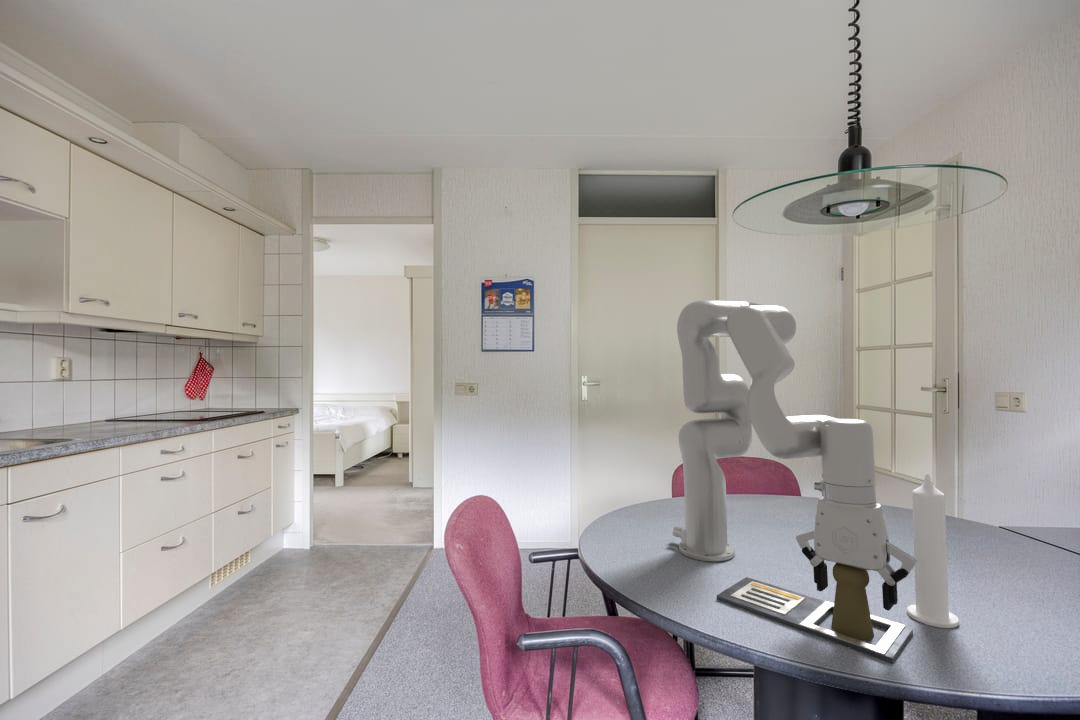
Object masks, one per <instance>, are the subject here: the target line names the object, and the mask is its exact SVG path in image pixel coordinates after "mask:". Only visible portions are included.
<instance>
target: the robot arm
mask: <svg viewBox="0 0 1080 720" xmlns="http://www.w3.org/2000/svg"><path fill="white" fill-rule="evenodd" d="M796 331H797V323H796V319H795V317H794V315H793V314H792V312H790V311H789V310H788V309H787V308H785V307H783V306H779V305H770V304H765V303H760V302H759V303H757V302H751V301H739V300H738V301H737V300H719V299H718V300H717V299H716V300H715V299H705V300H704V299H703V300H696V301H693V302H690V303H688V304H686V306H685V307H683V309H682V310H681V311H680V314H679V315H678V320H677V323H676V334H677V339H678V343H679V346H680V347H679V348H680V351H681V357H682V386H683V388H682V389H683V391H682V393H683V401H684V405H685V407H686V410H688V411H689V412H690V413H693V414H699V415H700V414H720V418H702V419H693V420H690V421H688V422H686V423H685V424H683V425H682V426H681V428H680V430H679V431H678V445H679V449H680V453H681V459H682V461H681V462H682V467H683V469H682V470H683V487H684V490H683V491H684V527H682V526H679V525H675V526H674V527H673V531H672V536H673V537H675V538H680V540H681V542H680V543H679V544H678V549H679V552H680V553H681V554H682V555H683V556H685V557H688V558H691V559H694V560H698V561H703V562H704V561H705V562H723V561H729V560H731V559H732V558H734V556H735V555H736V553H735V548H734V547H733V546H732V545H731V544H729V543H728V514H727V510H728V509H727V485H726V484H727V483H726V476H725V473H724V471H723V469H722V468H721V466H720V465H719V463H718V461H717V460H718V459H725V458H726V459H727V458H736V457H737V458H738V457H741V456H743V455H746V454H747V453H748V452H749V450H750V448H751V445H752V441H753V440H752V437H753V430H752V429H754V431H755V433H756V436H757V437H758V439H759V441H760V443H761V445H762V447H764V448H765V450H766V451H767V452H768V454H771V455H772V456H774V457H775V458H777V459H781V460H782V459H783V460H790V459H791V460H792V459H800V458H801V459H802V458H814V457H815V458H816V457H821V477H822V480H821V481H820V482H819V481H817V482H814V485H813V488H814V490H815V491H819V492H821V496H822V497H819V498H818V499H817V503H816V509H815V516H814V518H815V519H814V529H813V530H809V531H806V532H803V533H799V534H798V535H796V537H795V540H796V542H797V543H798V545H799V547H800V548H801V552H802V554H803V555H804V556H805V557H806V559H808V561H809V564H810V565H811V566H812V567H813V582H814V584H816V590H817V592H823V591H824V590H826V589H827V588H828V587H829V580H828V578H829V577H828V575H829V574H828V565H827V563H826V562H825V561H827V562H831V563H835V564H836V563H839V564H843V565H847V566H852V567H856V568H860V569H865V570H867V571H870V572H877V573H878V574H879V576H880V577H881V578H882V579H883V581H884V582H883V583H882V585H881V589H882V591H881V592H882V609H884V610H885V611H890V610H891V609H892V608H893V607H894V606H895V605H897V604H898V600H899V599H898V584H897V583H900V581H902V580H904V579H905V578H907V577H908V575H909V574H910V573H911V571H912V570H913V568H915V564H916V562H917V560H916V559H915V558H914V556H912V555H911V554H909V553H907V552H906V551H904V550H902V549H901V548H899V547H898V546H896V545H895V544H893V543H891V542H890V539H889V532H888V527H887V523H886V518H885V514H884V511H883V507H882V505H881V504H880V503H877V488H876V487H877V486H876V472H875V471H876V469H875V466H876V465H875V453H874V433H873V432H874V431H873V427H872V425H871V423H870V422H868V421H866V420H863V419H857V418H836V417H833V416H829V415H824V414H806V415H805V414H803V415H800V414H799V415H789V416H788V415H785V414H784V411H783V410H782V408H781V406H780V405H779V402H778V400H777V398H776V394H775V385H776V384H778V383H779V382H781V381H782V380H785V378H787V377H788V376H789V375H790V374H791V373H792V372H793V371H794V368H795V365H796V364H795V363H796V362H795V359H794V358H793V356H792V354H791V353H790V351H789V350H788V347H787V346H786V344H787V343H790V342H791V341H792V340H793V338H794V336H795V334H796ZM713 337H714V338H715V337H717V338H730V339H731V340H730V341H732V343H733V345H734V347H735V350H736V351H737V354H738V355H739V357H740V359H741V361H742V362H743V365H744V367H745V369H746V371H747V373H748V374H749V376H750V379H751V381H750V385H749V386H748V384H747V382H746V381H745V380H744V379H743V378H742V377H741V376H740V375H738V374H734V373H721V370H720V356H719V353H718V350H717V348H716V347H715V345H714V344H713V342H712V341H711V340H710V338H713ZM752 427H753V428H752ZM811 540H814V541H813V546H814V547H812V546H811V545H810V543H809V541H811ZM891 556H892V557H894V558H895V559H896V560H898V561H899V562H900V563H901V566H900V568H898V569H897V570H895V569H894V567H892V566H891V565H890V561H891Z"/></svg>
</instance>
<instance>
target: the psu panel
mask: <svg viewBox="0 0 1080 720" xmlns="http://www.w3.org/2000/svg"><path fill="white" fill-rule="evenodd" d="M716 601H720V602H721V603H726V604H728V605H731V606H733V607H736V608H738V609H742V610H745V611H747V612H749V613H753V614H756V615H758V616H760V617H764V618H766V619H769V620H772V621H774V622H778V623H780V624H783V625H786V626H789V627H791V628H794V629H796V630H798V631H802V632H805V633H807V634H809V635H810V634H811V635H812V636H815V637H818V638H821V639H824V640H827V641H829V642H832V643H835V644H837V645H841V646H843V647H846V648H848V649H851V650H854V651H857V652H859V653H862V654H865V655H868V656H870V657H873V658H876V659H879V660H882V661H885V662H887V663H890V664H894V662H895V661H896V659H897V658H898V656H899V655H900V654H901V652H902V651H903V650H904V648H905V646H906V645H907V644H908V642H909V641H910V639H911V637H912V636H913V634H914V628H912V627H908V626H906V624H902V623H899V622H896V621H892V620H889V619H886V618H883V617H881V616H876V615H874V614H871V613H870V616H871V622H872V626H875V627H878V628H880V629H884V630H886V632H884V634H883V636H882V638H881V639H880V640H879V641H878V642H877V643H876V645H874V644H870V643H869V642H866V641H860V640H857V639H854V638H851V637H848V636H846V635H843V634H840V633H837V632H835V631H834V630H831V629H829V628H825V627H822V626H821V625H820V624H821V623H822V622H823V621H824V620H825V619H826V618H828V616H829V615H830V614H832V613H833V609H834V602H831V601H828V600H821V599H818V598H815V597H811V596H809V595H806V594H802V593H798V592H796V591H792V590H789V589H786V588H783V587H780V586H777V585H774V584H770V583H768V582H767V583H766V582H763V581H762V580H761V581H760V580H758V579H754V578H751V577H748V576H745V577H744V578H743V579H741V580H740V581H738V582H736V583H735V584H733V585H731V586H730V587H728V588H727V589H724V590H723V591H721V592H720V593H719V594H716Z"/></svg>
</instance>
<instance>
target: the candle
mask: <svg viewBox="0 0 1080 720" xmlns="http://www.w3.org/2000/svg"><path fill="white" fill-rule="evenodd" d="M924 476H925V477H924V479H923V482H922V484H921V485H919V486H918V487H916V488H914V489H912V492H911V495H912V496H911V499H912V501H911V502H912V505H911V506H912V527H913V529H912V532H913V557H914V558H915V559H916V560H917V562H916V564H915V565H914V588H915V590H914V591H915V592H914V593H915V603H914V604H910V605H908V606H907V607H906V612H907V614H908V616H909V617H910V618H912V619H913V620H914V621H915V620H916V621H917V622H918V623H922V624H924V625H926V626H931V627H934V628H939V629H940V628H941V629H953V628H956V627H957V628H958V626H959V625H960V619H959V618H958V616H957V615H955V614H954V613H953V612H951V611H950V608H949V607H950V606H949V604H950V603H949V582H948V581H949V579H948V578H949V577H948V550H947V549H948V548H947V546H948V545H947V543H948V542H947V522H946V521H947V520H946V519H947V518H946V516H947V515H946V496H945V493H944V492H942V491H941V490H939V488H937V487H936V486H934V484H933V482H932V478H931V474H930V473H925V475H924Z"/></svg>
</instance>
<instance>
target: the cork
mask: <svg viewBox="0 0 1080 720" xmlns="http://www.w3.org/2000/svg"><path fill="white" fill-rule="evenodd" d="M868 571H869V570H865V569H860V568H856V567H852V566H847V565H843V564H839V563H835V564H834V565H833V566H832V576H833V580H835V582H836V585H835V593H834V594H835V595H834V601H833V603H834V609H833V612H832V618H831V624H830V626H831V629H832V631H834V632H837V633H840V634H843V635H846V636H848V637H851V638H854V639H857V640H860V641H863V642H866V641H871V640H873V639H874V638H875V634H874V628H873V625H872V622H871V616H870V614H871V612H870V606H869V601H868V600H869V599H868V596H867V595H868V594H867V589H866V588H867V586H868V585H869V582H870V574H869V572H868Z"/></svg>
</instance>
